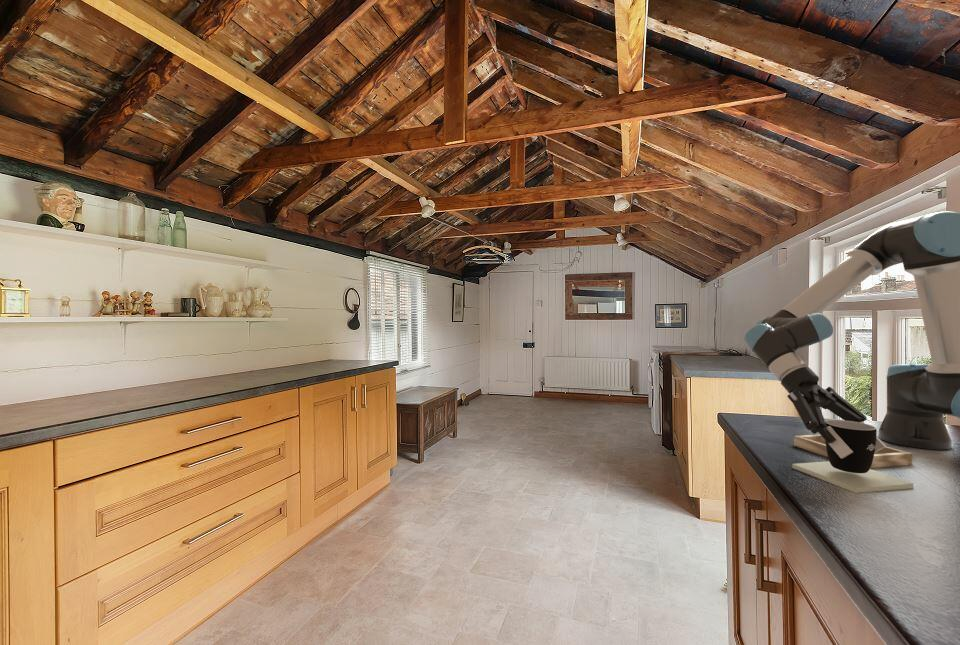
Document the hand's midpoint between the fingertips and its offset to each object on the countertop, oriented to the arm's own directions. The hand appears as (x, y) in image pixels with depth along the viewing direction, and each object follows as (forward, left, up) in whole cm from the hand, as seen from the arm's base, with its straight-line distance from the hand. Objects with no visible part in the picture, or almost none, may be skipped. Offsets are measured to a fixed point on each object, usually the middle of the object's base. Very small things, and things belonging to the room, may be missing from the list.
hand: (864, 452), depth 96 cm
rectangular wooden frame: (-16, -16, -7) cm, 24 cm away
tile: (0, -3, -7) cm, 7 cm away
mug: (0, -3, -4) cm, 5 cm away
